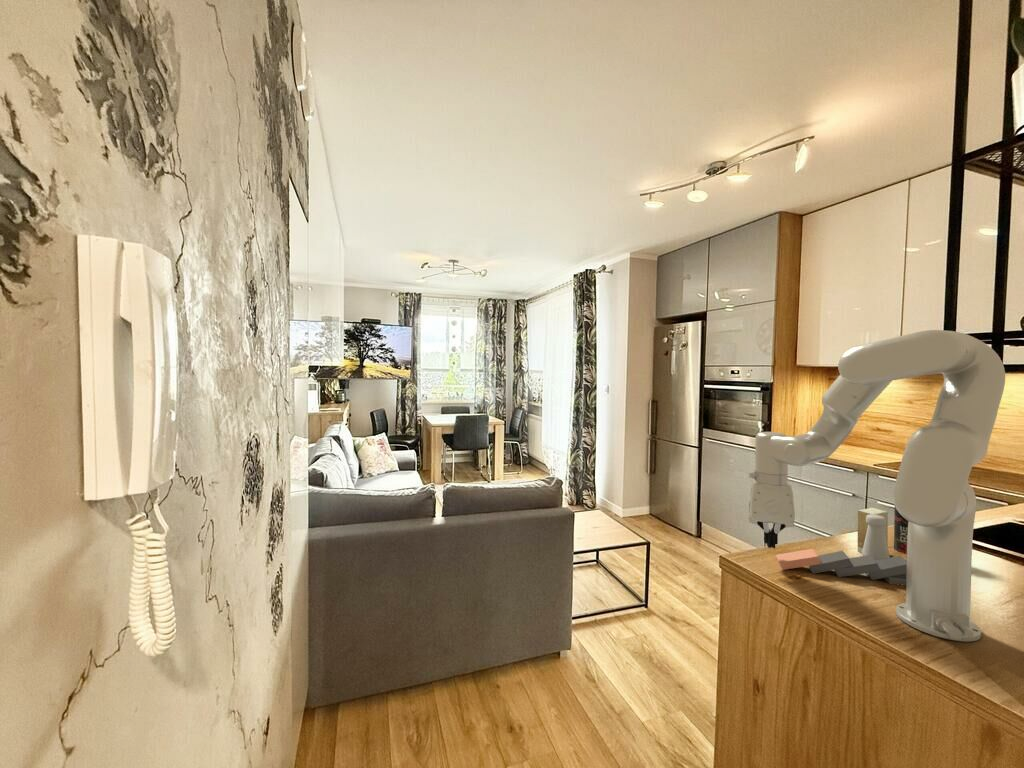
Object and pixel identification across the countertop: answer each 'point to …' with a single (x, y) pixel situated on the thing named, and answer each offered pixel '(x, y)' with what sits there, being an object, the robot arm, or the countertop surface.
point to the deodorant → (900, 532)
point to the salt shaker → (875, 538)
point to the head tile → (797, 559)
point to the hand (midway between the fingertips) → (770, 546)
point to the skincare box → (864, 526)
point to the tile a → (831, 562)
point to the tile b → (859, 566)
